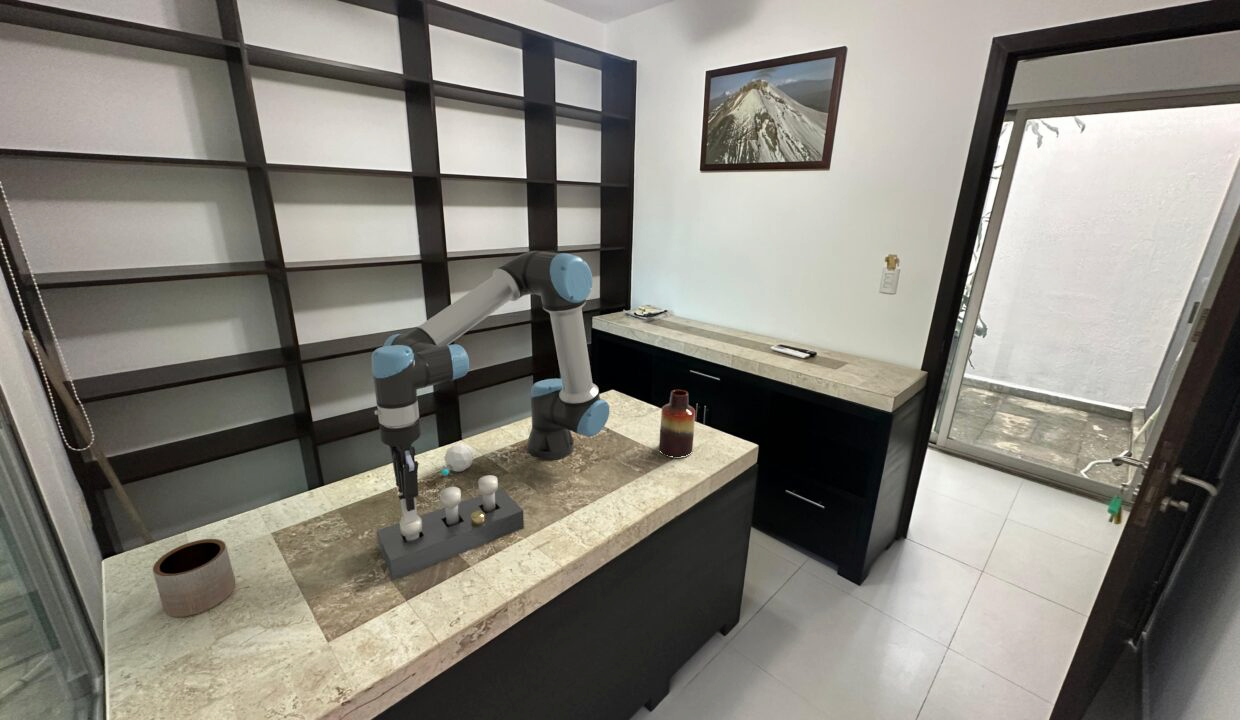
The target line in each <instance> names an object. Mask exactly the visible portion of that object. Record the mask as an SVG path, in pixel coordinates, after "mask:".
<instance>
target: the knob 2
mask: <svg viewBox="0 0 1240 720" xmlns="http://www.w3.org/2000/svg"><path fill="white" fill-rule="evenodd" d="M477 483H478V491H479V493H481V495H483V508H484V511H485V512H492V511H494V510H495V492H496V491H497V490H498V489H499V484H498V483H499V482H498V477H497V476H495V475H492V474H491V475H490V474H489V475H484V476H482V477H480V478H479V479H478V482H477Z"/></svg>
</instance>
